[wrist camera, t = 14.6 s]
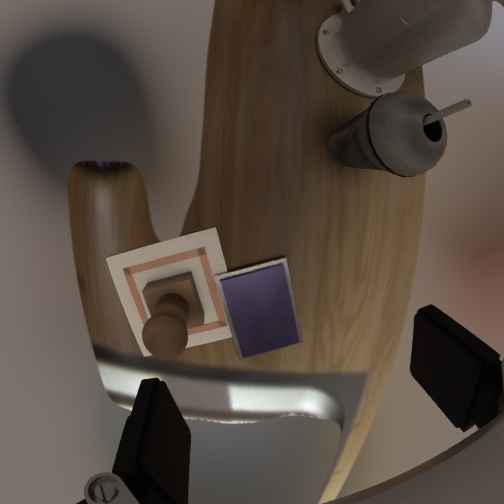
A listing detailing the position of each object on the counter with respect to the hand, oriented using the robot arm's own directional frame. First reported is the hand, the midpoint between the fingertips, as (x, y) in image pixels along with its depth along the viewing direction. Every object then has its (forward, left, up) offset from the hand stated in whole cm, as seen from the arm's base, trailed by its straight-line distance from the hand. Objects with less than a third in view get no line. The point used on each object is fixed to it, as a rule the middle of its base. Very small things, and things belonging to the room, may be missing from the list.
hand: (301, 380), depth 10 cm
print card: (+4, -8, -24) cm, 25 cm away
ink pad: (+8, +1, -24) cm, 25 cm away
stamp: (+4, -8, -23) cm, 25 cm away
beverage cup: (-8, +15, -24) cm, 29 cm away
